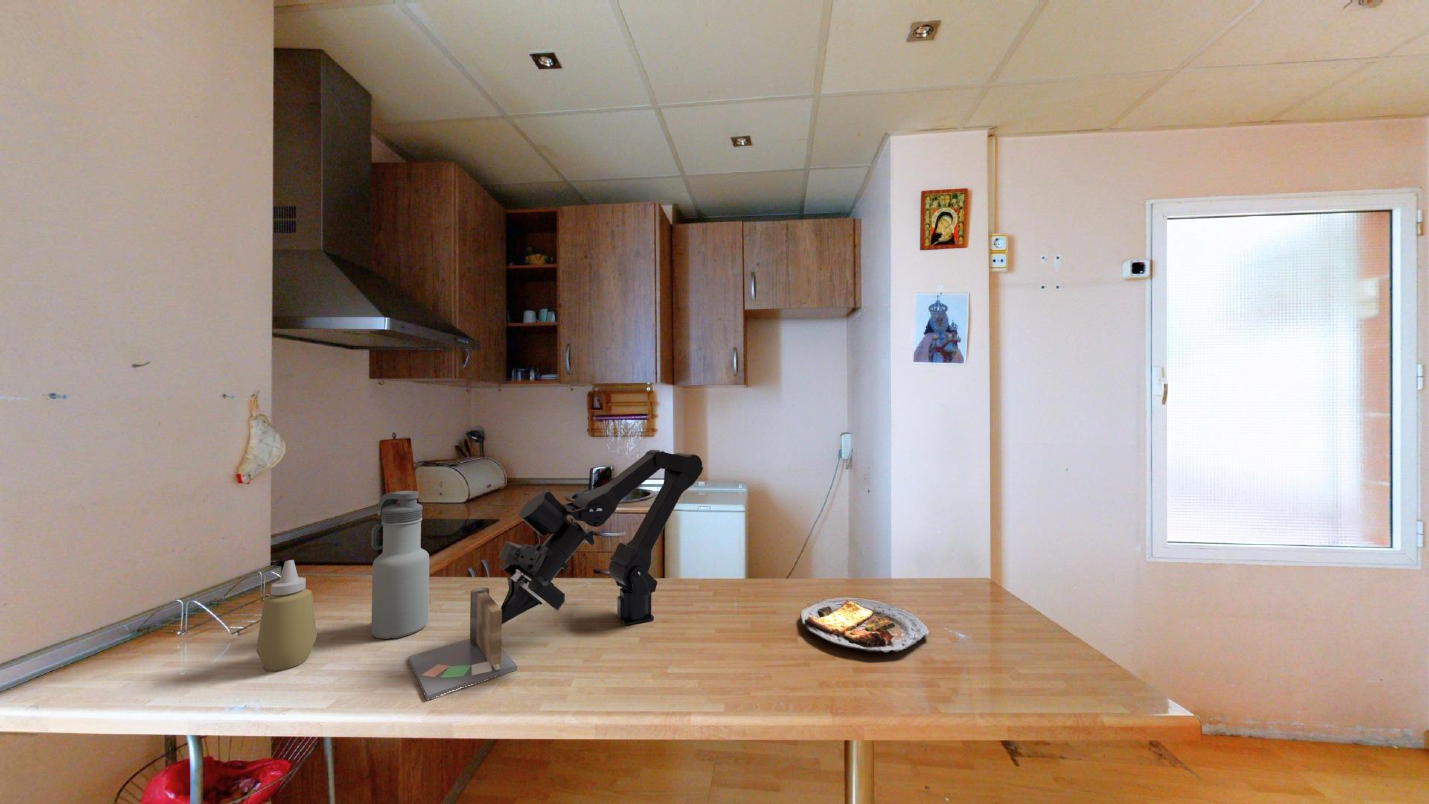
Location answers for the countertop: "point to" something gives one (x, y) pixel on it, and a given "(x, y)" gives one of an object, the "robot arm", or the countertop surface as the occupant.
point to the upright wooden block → (486, 625)
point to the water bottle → (399, 568)
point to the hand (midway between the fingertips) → (496, 623)
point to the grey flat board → (455, 667)
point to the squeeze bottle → (287, 622)
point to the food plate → (846, 614)
